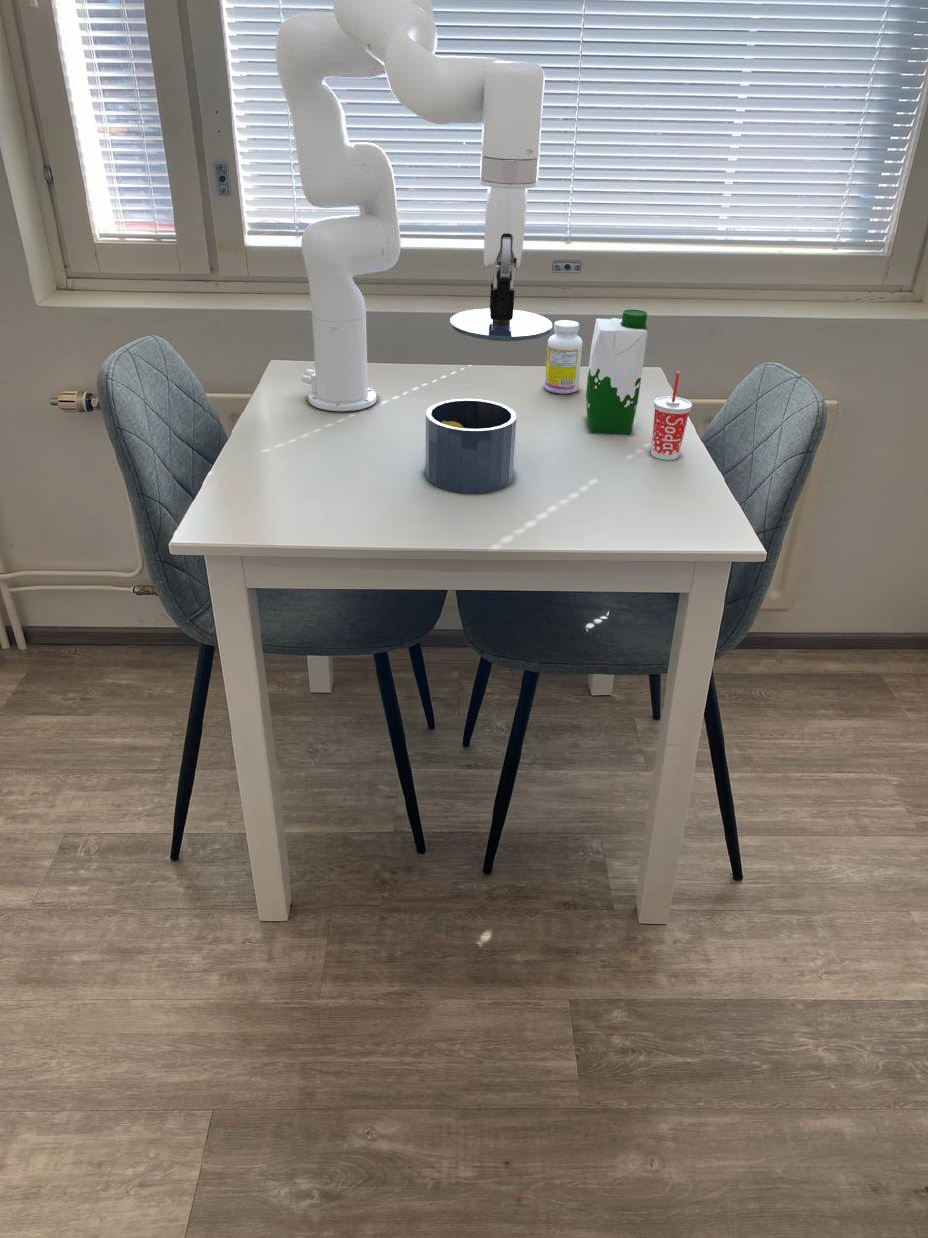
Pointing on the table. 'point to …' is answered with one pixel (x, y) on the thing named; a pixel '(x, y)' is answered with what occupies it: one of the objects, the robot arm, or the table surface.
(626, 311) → the milk carton
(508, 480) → the crock
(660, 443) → the beverage cup
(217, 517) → the table surface
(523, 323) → the crock lid
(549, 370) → the supplement bottle
